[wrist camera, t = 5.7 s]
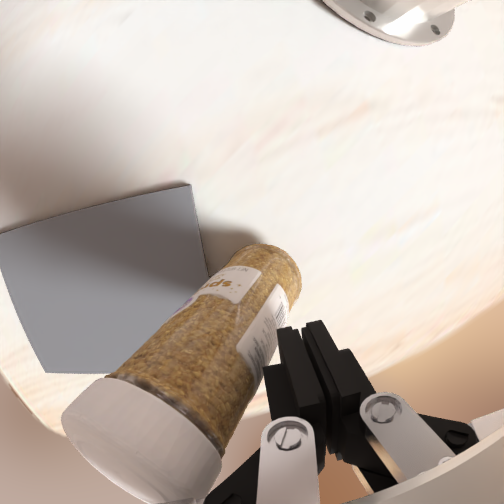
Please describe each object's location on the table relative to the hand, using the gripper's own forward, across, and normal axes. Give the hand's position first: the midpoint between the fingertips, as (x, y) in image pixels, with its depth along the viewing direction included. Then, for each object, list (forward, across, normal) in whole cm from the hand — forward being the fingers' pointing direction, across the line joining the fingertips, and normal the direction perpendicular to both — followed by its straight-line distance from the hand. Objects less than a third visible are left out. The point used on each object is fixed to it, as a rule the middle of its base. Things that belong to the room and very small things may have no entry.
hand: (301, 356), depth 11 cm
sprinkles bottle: (+8, 0, 0) cm, 8 cm away
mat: (+8, +12, 0) cm, 14 cm away
